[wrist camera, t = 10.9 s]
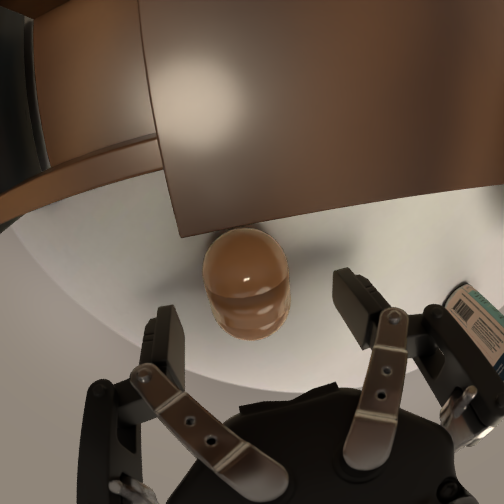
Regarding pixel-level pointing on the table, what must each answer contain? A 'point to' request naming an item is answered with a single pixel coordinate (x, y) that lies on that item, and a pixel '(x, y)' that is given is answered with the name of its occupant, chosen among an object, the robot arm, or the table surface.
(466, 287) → the beer can
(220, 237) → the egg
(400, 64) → the cabinet
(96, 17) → the drawer
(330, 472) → the robot arm
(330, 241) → the table surface
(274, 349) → the table surface
